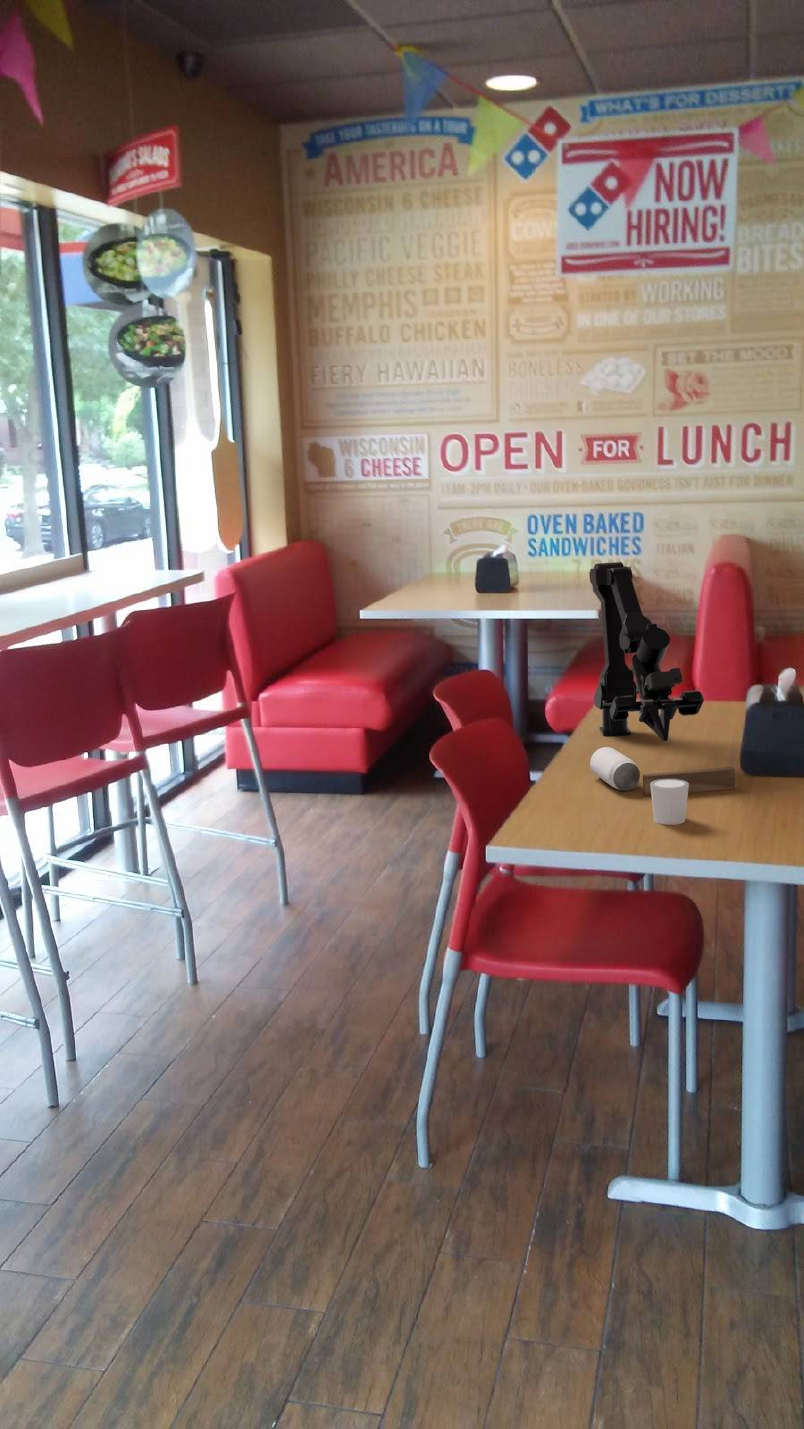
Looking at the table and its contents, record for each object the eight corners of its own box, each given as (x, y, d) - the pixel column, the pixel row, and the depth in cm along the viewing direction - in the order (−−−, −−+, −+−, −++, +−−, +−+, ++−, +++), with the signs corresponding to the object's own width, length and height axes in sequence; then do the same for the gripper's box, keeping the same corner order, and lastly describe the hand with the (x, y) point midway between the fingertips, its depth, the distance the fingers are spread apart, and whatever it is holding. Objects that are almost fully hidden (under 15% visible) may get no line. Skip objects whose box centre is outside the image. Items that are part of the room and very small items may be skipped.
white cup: (651, 825, 233) (651, 788, 231) (649, 814, 239) (649, 778, 238) (690, 825, 232) (690, 788, 230) (687, 814, 238) (687, 777, 237)
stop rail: (643, 793, 252) (643, 774, 251) (731, 786, 254) (731, 766, 253) (645, 796, 251) (645, 776, 250) (734, 788, 253) (735, 769, 252)
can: (600, 783, 265) (622, 799, 254) (583, 759, 263) (605, 774, 252) (624, 763, 266) (648, 778, 254) (608, 740, 264) (631, 754, 252)
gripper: (613, 658, 264) (629, 722, 256) (701, 652, 266) (720, 715, 258) (603, 688, 273) (618, 751, 265) (688, 682, 275) (706, 744, 267)
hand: (665, 740), depth 264 cm, fingers closed
